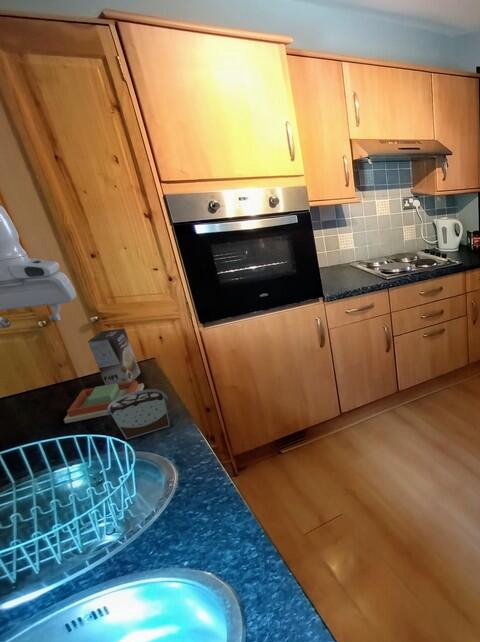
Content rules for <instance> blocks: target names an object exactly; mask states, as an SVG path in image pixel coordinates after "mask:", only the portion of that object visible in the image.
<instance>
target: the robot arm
mask: <svg viewBox="0 0 480 642" xmlns="http://www.w3.org/2000/svg"><path fill="white" fill-rule="evenodd" d="M60 269H61V266H60V264H59V262H57V261H54V260H47V259H39V258H33V257H29V255H28V253H27V252H26V250H25V249H24V248H23V247H22V245H21V243H20V235H19V233H18V230H17V228H16V225H14V222H13V220H12V219H11V217H10V215H9V214H8V212H7V211H6V209H5V208H4V207H3V206H2V205H1V204H0V311H5V310H6V311H7V310H15V309H25V308H31V307H32V308H33V307H41V306H49V307H50V309H53V312H51V313H50V314H48V318H49V321H50V322H51V323H53V322H59V321H61V320H62V317H61V315H60V310H61V307H62V304H67V303H71V302H73V301H74V300H75V299H76V298H77V291H76V290H75V287H74V285H73V283H72V282H71V280H70V279H69V277H68V275H66V274H65V273H64V272H63V271H60ZM9 327H11V322H10V320H9V318H3V317H1V316H0V329H5V328H9Z"/></svg>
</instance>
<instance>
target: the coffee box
mask: <svg viewBox="0 0 480 642" xmlns="http://www.w3.org/2000/svg"><path fill="white" fill-rule="evenodd" d="M87 343H88V345H89V348H90V350H91V353H92V355H93V358H94V360H95V363H96V365H97V368H98V370H99V373H100V376H101V378H102V380H103V382H104V385H110V384H115V383H117V384H118V383H124V382H130V381H135V380H136V379H137V378H138V377H139V376H140V374H141V370H140V367H139V364H138V362H137V359H136V356H135V354H134V350H133V348H132V345H131V343H130V340H129V337H128V334H127V332H126V329H125V328H116V329H109V330H102V331H100V332H98V333H97V334H96V335H94V336H93V337H92V338H91V339H89V340H88V341H87Z"/></svg>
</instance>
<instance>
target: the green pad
mask: <svg viewBox="0 0 480 642" xmlns="http://www.w3.org/2000/svg"><path fill="white" fill-rule="evenodd" d="M94 388H95V389H94V390H93V392H92V393H91V395H90V396H89V398H88V399H87V400H88V402H89V405H90V406H91V405H96V404H101V403H107V402H112V401H114V400H116V399H117V397H118V395H119V393H120V390H119V387H118V385H117V383H115V384H110V385H105V384H104V385H99V386H95V387H94Z"/></svg>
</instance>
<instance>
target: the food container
mask: <svg viewBox="0 0 480 642" xmlns="http://www.w3.org/2000/svg"><path fill="white" fill-rule="evenodd" d="M165 398H166V399H165ZM168 399H169V398H168V397H167V395H166V394H165V393H164V392H163V391H162V390H160V389H156V388H153V389H152V388H149V389H143V390H141V391H136V392H132V393H129V394H126V395H124V396H121V397H119V398H117V399H116V400H114V401H113V402H111V403H110V404H109V406H108V409H107V413H108V415H107V416H111V417H112V418H113V420H114V421H115V424H116V425H117V427H118V428H119V430H120V432H121V433H122V435H123V436H124V438H125V440H130V439H133V438H136V437H139V436H142V435H146V434H149V433H153V432H156V431H159V430H163V429H165V428H168V427H171V422H170V419H169V414H168V408H167V403H166V400H168ZM109 413H110V415H109Z"/></svg>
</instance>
